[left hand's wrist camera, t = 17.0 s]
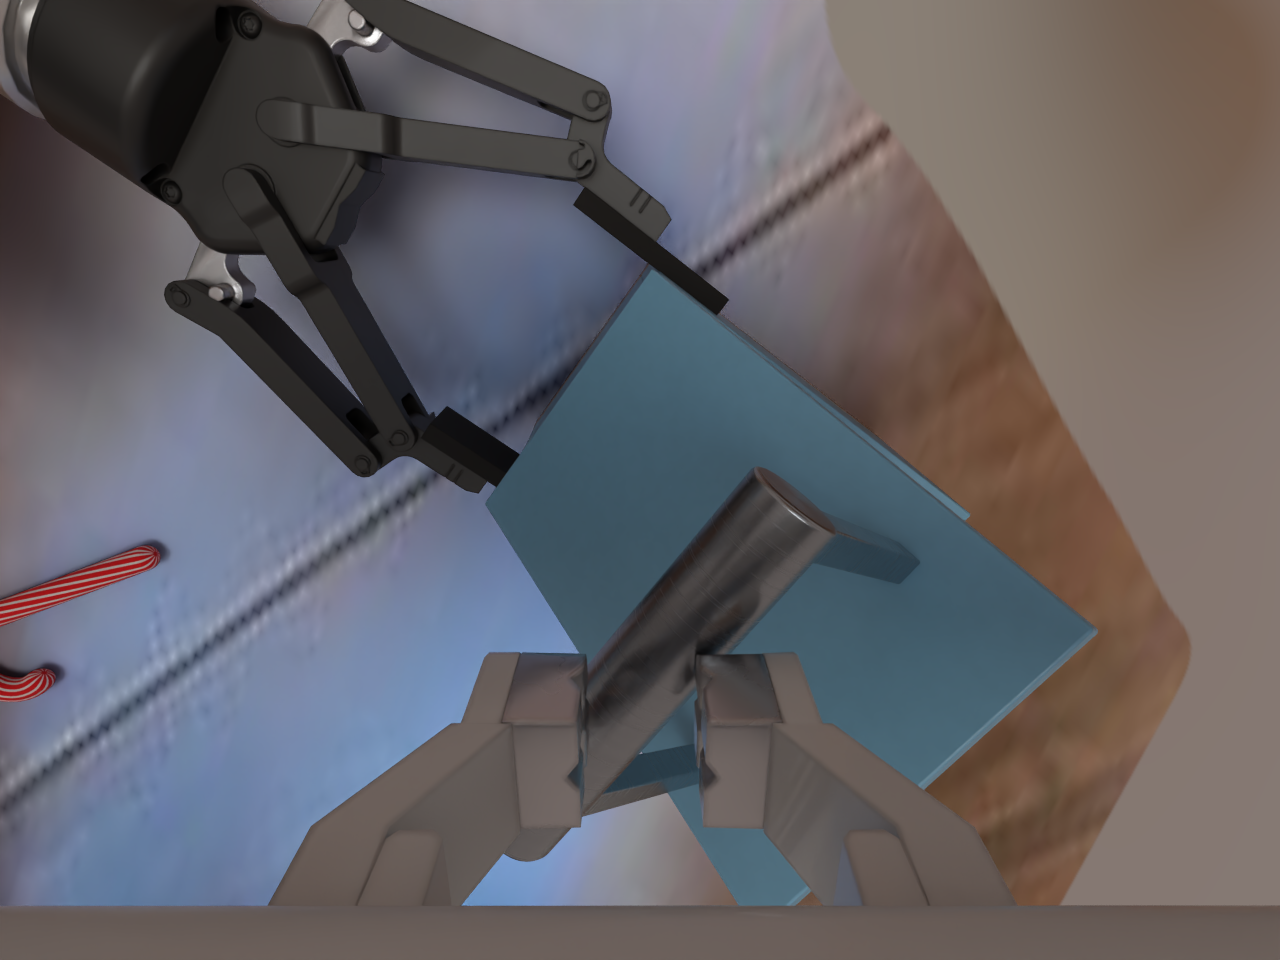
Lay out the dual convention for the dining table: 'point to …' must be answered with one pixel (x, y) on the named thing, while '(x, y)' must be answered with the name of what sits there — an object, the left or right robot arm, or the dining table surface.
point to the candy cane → (59, 593)
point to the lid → (755, 573)
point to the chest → (791, 374)
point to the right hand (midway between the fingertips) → (637, 410)
